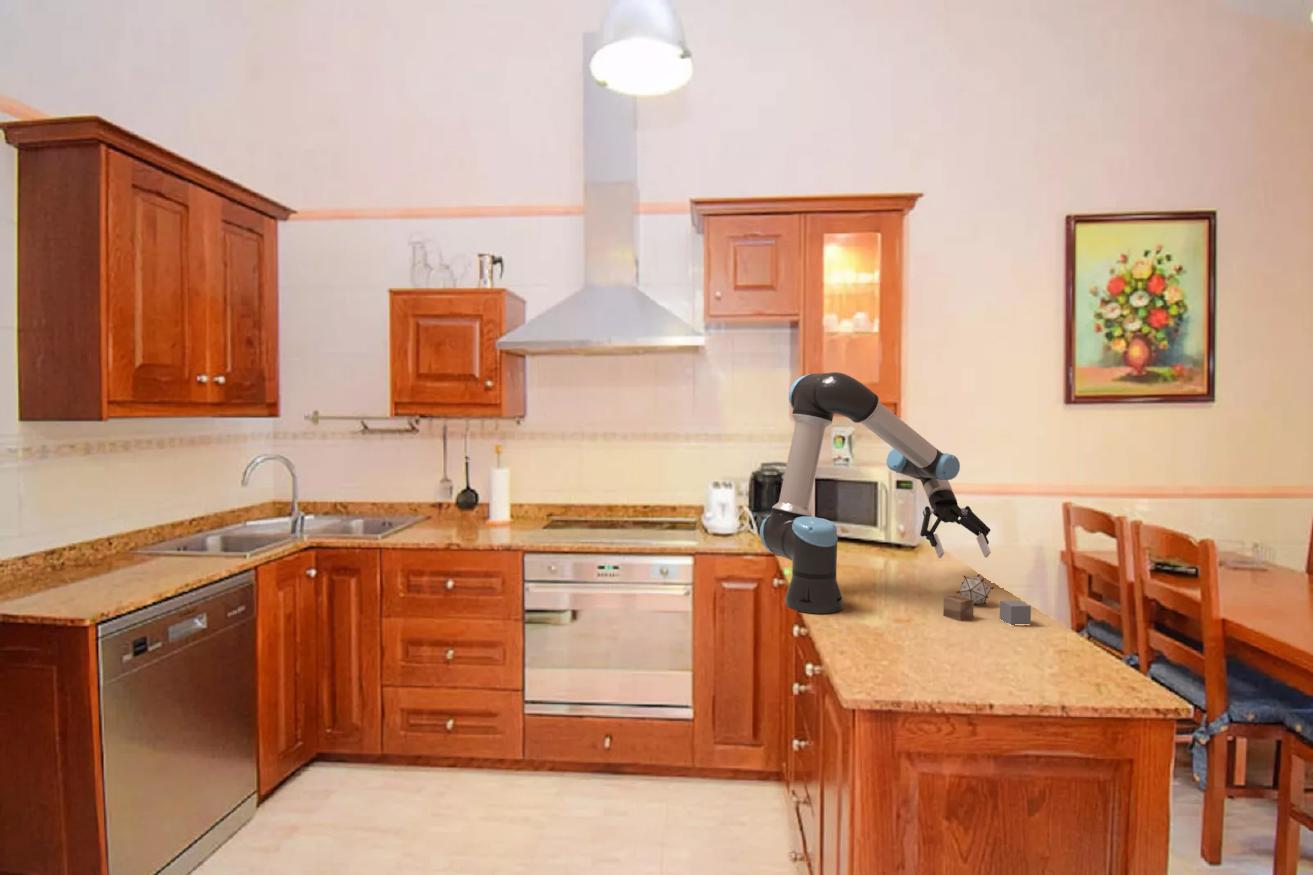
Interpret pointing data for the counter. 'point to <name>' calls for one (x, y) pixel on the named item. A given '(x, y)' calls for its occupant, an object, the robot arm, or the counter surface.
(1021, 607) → the gray block
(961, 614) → the walnut block
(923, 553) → the counter surface
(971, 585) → the game die
